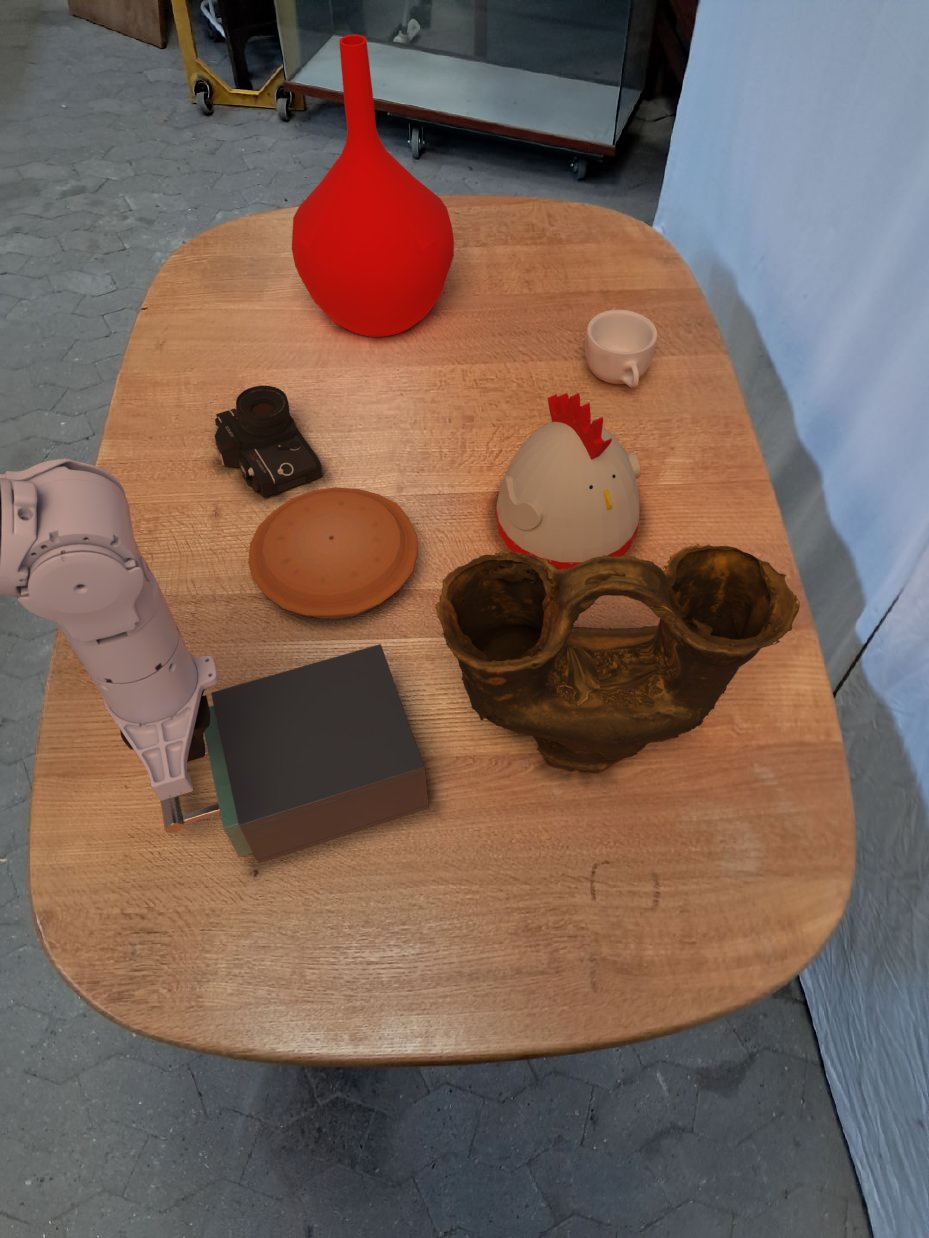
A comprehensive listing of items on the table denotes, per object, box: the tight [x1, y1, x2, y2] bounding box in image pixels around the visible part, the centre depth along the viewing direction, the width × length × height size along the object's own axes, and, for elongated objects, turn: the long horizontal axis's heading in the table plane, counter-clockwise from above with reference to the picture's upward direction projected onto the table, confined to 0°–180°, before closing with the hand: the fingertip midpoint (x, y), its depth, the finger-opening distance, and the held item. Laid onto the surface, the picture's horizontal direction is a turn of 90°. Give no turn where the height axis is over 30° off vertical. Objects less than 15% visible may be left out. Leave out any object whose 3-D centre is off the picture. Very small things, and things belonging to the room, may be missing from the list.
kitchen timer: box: [495, 392, 642, 570], centre depth 83 cm, size 14×14×15 cm
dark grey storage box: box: [210, 643, 430, 864], centre depth 71 cm, size 14×12×7 cm
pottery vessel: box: [434, 543, 801, 774], centre depth 68 cm, size 25×11×20 cm, turn 92°
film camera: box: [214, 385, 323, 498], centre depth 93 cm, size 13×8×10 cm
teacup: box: [584, 309, 658, 388], centre depth 100 cm, size 10×8×5 cm
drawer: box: [159, 705, 253, 858], centre depth 70 cm, size 17×10×5 cm, turn 109°
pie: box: [248, 486, 419, 620], centre depth 84 cm, size 15×16×5 cm
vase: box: [291, 34, 455, 338], centre depth 98 cm, size 18×18×30 cm
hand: (189, 752), depth 65 cm, fingers closed
